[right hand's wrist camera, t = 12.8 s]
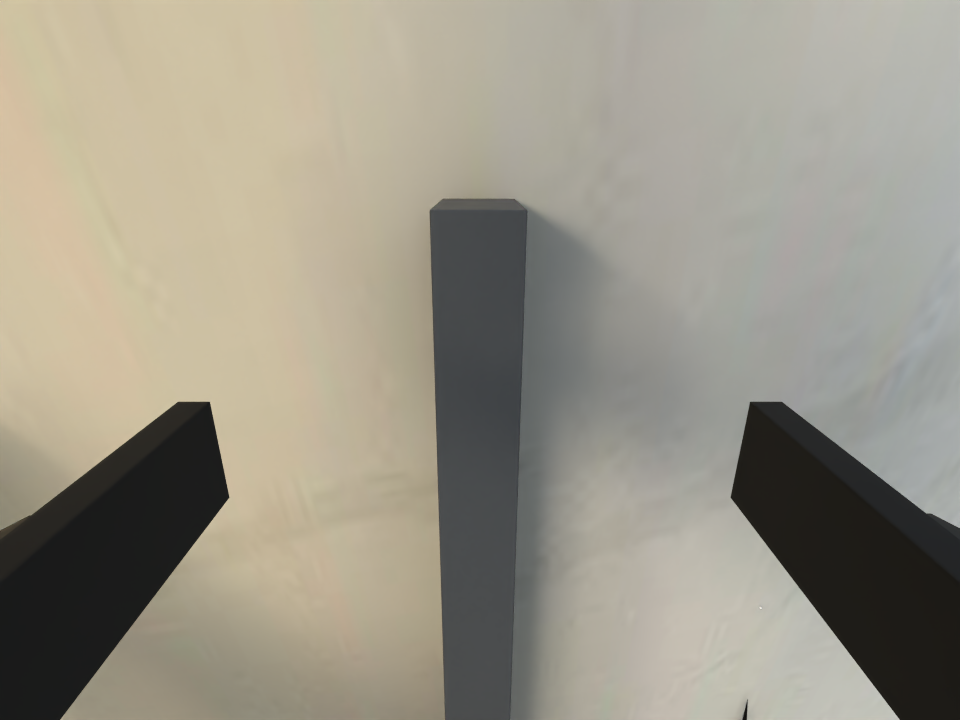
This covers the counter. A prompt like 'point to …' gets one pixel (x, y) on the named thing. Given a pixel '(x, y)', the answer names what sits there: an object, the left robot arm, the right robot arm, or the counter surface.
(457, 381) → the bar
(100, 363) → the counter surface
